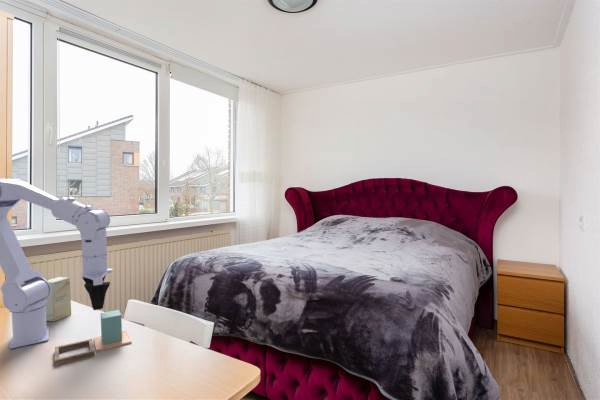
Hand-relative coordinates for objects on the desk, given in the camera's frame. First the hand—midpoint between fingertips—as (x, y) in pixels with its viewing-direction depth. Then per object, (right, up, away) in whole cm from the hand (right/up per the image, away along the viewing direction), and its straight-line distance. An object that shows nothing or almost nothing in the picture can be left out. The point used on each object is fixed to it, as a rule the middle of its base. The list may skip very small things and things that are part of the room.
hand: (96, 304), depth 93 cm
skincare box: (-21, -9, +15) cm, 27 cm away
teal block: (+5, -9, -1) cm, 10 cm away
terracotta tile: (+5, -10, -1) cm, 11 cm away
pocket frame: (-1, -10, -7) cm, 12 cm away
